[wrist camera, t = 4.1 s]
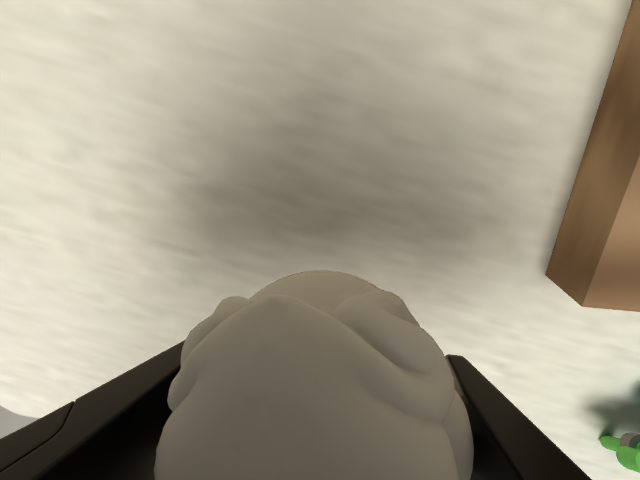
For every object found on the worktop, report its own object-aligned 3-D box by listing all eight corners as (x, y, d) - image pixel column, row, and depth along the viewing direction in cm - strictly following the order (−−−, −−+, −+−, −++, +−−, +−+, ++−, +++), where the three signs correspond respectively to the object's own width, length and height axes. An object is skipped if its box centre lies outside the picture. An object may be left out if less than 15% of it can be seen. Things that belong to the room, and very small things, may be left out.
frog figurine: (265, 402, 11) (126, 769, 5) (218, 225, 9) (-170, 483, 3) (436, 408, 10) (550, 906, 4) (434, 205, 8) (734, 600, 1)
